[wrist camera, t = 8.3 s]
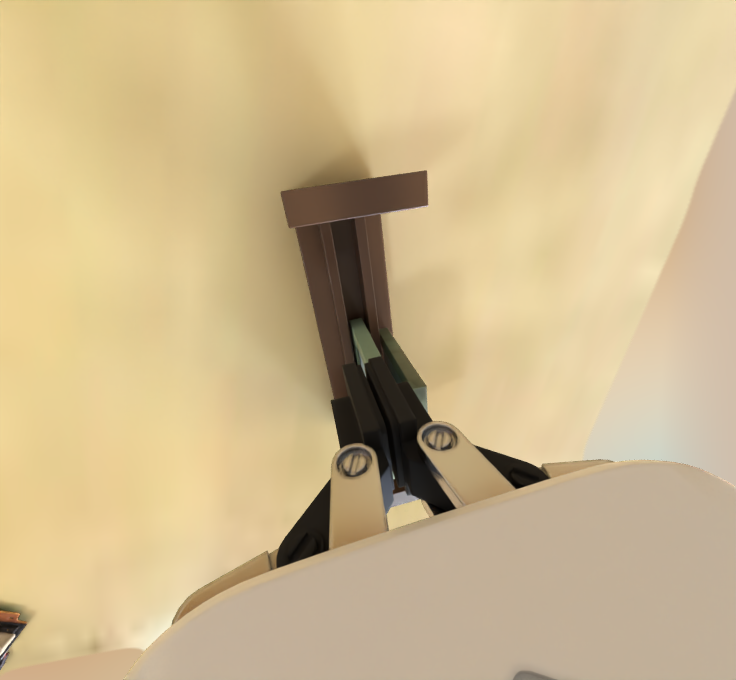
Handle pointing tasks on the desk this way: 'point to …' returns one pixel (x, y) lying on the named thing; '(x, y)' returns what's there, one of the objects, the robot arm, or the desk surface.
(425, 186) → the window frame
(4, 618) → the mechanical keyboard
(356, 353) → the sliding pane
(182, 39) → the desk surface
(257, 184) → the desk surface
